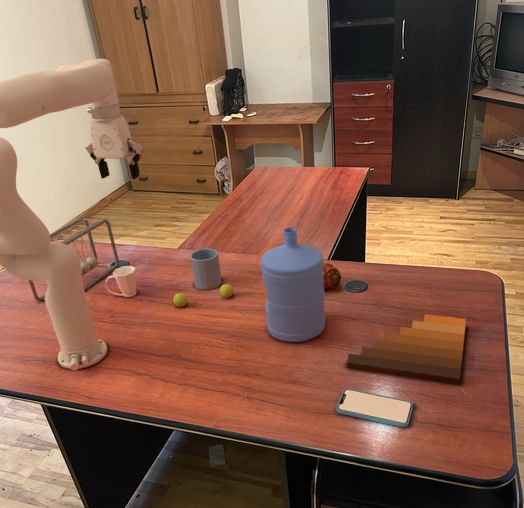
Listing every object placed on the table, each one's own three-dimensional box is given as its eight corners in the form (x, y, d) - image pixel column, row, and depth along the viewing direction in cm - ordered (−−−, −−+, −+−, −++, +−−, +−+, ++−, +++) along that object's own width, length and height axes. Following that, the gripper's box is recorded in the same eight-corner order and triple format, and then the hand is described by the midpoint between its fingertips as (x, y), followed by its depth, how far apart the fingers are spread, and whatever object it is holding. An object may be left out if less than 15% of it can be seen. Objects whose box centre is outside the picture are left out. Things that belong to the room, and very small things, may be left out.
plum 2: (235, 298, 162) (233, 286, 160) (222, 301, 162) (220, 289, 160) (232, 292, 166) (231, 280, 164) (219, 294, 165) (218, 283, 163)
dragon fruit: (343, 296, 161) (306, 296, 167) (348, 270, 164) (311, 271, 169) (335, 283, 154) (296, 283, 160) (339, 256, 157) (301, 258, 162)
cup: (142, 296, 168) (137, 272, 164) (109, 303, 166) (103, 279, 162) (139, 286, 174) (134, 263, 170) (107, 293, 172) (101, 270, 168)
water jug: (337, 324, 146) (336, 226, 131) (298, 351, 137) (292, 248, 122) (293, 306, 155) (288, 213, 141) (254, 330, 146) (244, 233, 132)
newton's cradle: (61, 308, 166) (44, 255, 157) (35, 303, 170) (17, 251, 161) (120, 265, 189) (109, 217, 180) (97, 262, 193) (84, 214, 184)
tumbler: (224, 286, 169) (220, 257, 164) (196, 291, 168) (192, 262, 163) (219, 274, 176) (215, 246, 171) (192, 279, 175) (188, 251, 170)
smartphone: (407, 425, 110) (335, 409, 115) (407, 429, 111) (335, 413, 116) (413, 401, 116) (344, 387, 121) (413, 406, 116) (344, 391, 122)
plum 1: (188, 307, 160) (186, 295, 158) (175, 310, 159) (173, 298, 157) (187, 301, 163) (185, 289, 161) (173, 303, 163) (171, 292, 160)
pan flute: (347, 369, 128) (458, 386, 120) (346, 358, 127) (460, 374, 118) (367, 315, 148) (464, 326, 140) (367, 304, 146) (466, 315, 138)
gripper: (69, 115, 140) (86, 181, 149) (127, 115, 135) (140, 182, 144) (86, 109, 146) (101, 172, 155) (142, 108, 141) (154, 173, 149)
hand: (120, 177), depth 149 cm, fingers open, 9 cm apart
